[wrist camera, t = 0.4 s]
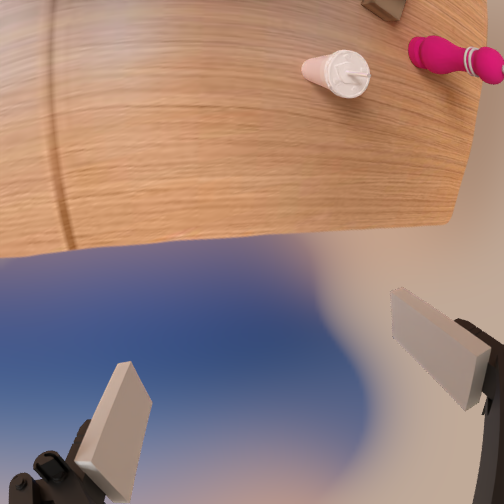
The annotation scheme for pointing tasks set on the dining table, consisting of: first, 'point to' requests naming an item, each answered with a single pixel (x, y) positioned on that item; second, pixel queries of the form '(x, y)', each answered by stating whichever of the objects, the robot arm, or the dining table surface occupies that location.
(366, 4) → the notched board
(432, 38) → the pepper mill
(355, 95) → the smoothie
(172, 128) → the dining table surface
